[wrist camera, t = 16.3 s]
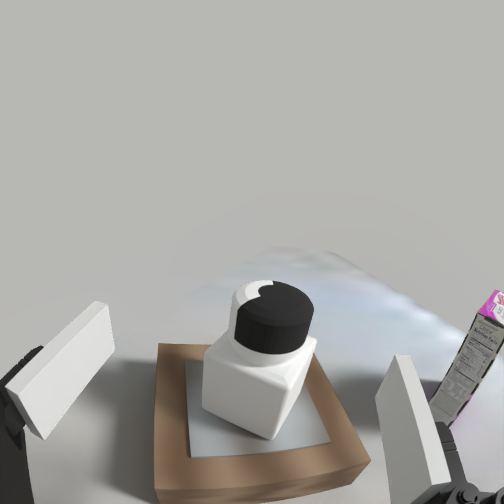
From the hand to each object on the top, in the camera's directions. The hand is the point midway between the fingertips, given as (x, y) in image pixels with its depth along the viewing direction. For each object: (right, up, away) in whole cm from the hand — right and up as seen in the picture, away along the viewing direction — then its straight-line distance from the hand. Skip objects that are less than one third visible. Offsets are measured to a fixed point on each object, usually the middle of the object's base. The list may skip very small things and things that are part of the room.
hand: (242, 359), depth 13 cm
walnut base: (0, -14, +16) cm, 21 cm away
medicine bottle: (+1, -10, +14) cm, 17 cm away
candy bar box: (+27, -17, +19) cm, 38 cm away
